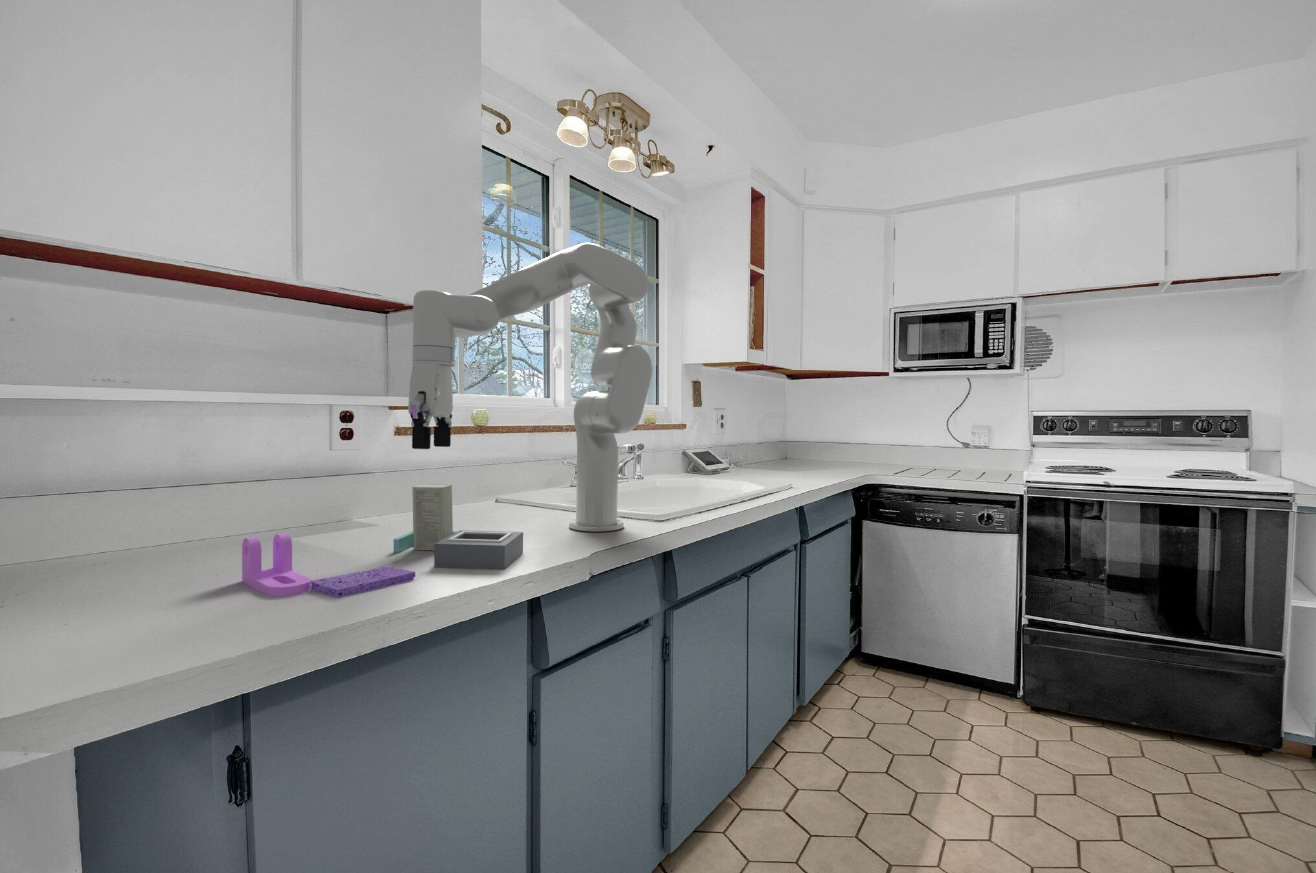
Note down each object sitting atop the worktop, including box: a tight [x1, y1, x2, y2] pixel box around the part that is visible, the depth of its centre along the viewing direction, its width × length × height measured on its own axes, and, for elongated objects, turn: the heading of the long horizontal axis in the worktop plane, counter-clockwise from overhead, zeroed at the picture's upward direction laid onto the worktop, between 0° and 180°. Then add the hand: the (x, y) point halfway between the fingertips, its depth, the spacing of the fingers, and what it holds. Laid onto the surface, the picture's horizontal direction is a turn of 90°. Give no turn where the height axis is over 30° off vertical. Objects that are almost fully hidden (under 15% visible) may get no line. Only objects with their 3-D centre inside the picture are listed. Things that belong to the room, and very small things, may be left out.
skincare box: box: [412, 483, 454, 551], centre depth 117 cm, size 6×4×12 cm
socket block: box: [433, 529, 524, 570], centre depth 109 cm, size 12×12×4 cm
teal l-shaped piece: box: [393, 530, 459, 554], centre depth 117 cm, size 9×11×2 cm
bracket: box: [241, 532, 312, 597], centre depth 90 cm, size 13×6×7 cm, turn 51°
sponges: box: [310, 565, 416, 599], centre depth 92 cm, size 7×13×2 cm, turn 147°
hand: (432, 447), depth 116 cm, fingers open, 9 cm apart
